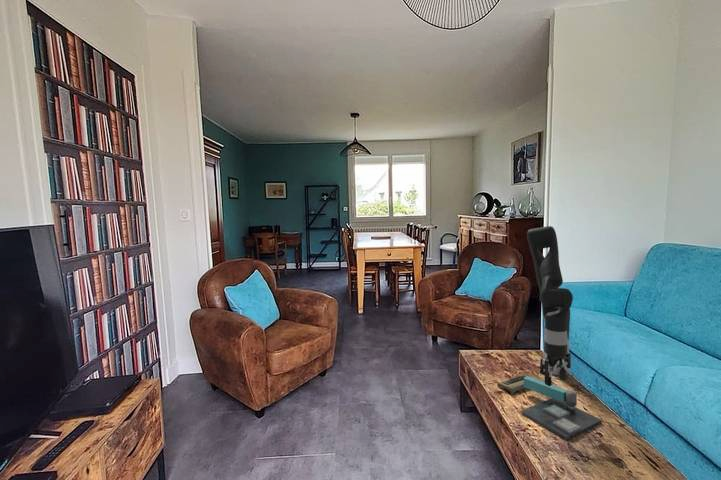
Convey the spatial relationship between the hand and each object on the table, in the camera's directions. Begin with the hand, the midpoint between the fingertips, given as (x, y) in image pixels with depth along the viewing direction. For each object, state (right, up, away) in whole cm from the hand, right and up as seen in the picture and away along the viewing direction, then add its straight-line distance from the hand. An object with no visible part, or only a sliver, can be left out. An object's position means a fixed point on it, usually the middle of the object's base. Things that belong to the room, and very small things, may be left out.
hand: (555, 382), depth 127 cm
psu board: (+1, -13, -1) cm, 13 cm away
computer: (-3, -12, +24) cm, 27 cm away
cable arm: (+3, -9, +10) cm, 14 cm away
